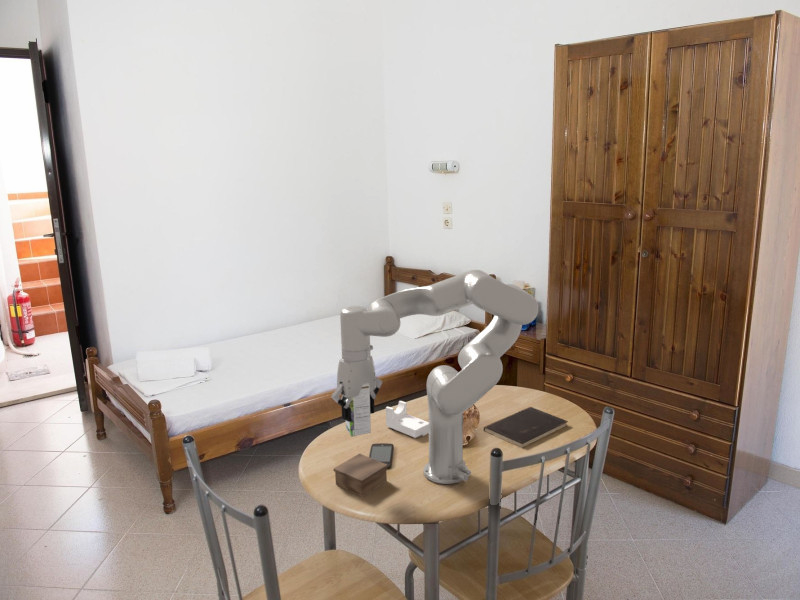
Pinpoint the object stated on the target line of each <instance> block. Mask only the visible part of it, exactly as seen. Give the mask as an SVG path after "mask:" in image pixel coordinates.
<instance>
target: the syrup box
mask: <svg viewBox="0 0 800 600" xmlns="http://www.w3.org/2000/svg"><path fill="white" fill-rule="evenodd" d="M346 399H347V398H346ZM345 402H346V400H345ZM349 407H350V408H351V421H350V422H348V421H346V420H345V429H346V431H347V432H348V434H349V436H351V437H357V436H362V435H363V436H364V435H366V434H371V433H372V428H371V427H372V425H371V421H372V420H371V413H370V388H369V383H367V384H363V386H362V388H361V391H360V393H359V395H358V396H356V397H353V398H351V402H350V405H349Z"/></svg>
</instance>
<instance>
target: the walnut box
mask: <svg viewBox="0 0 800 600" xmlns="http://www.w3.org/2000/svg"><path fill="white" fill-rule="evenodd" d="M388 468H389V465H388V464H387V463H384V462H382V461H379V460H378V459H375V458H371V457H369V456H367V455H364V454H362V453H358V454H356V455H355V456H352V457H351V458H349V459H348V460H346V461H344V462H342V463H341V464H339V465H338V466H335V467H334V468H333V470H332V471H333V472H334V473H335V474H334V475H335V477H334V478H335V485H336V486H338V487H341V488H343V489H345V490H347V491H349V492H352V493H354V494H356V495H358V496H360V497H365V495H368V494H369V493H370V492H372V491H374V490H375V489H376V488H379V486H382V484H384V483H385V482H387V480H388V479H387V469H388Z"/></svg>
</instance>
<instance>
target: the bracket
mask: <svg viewBox="0 0 800 600" xmlns="http://www.w3.org/2000/svg"><path fill="white" fill-rule="evenodd" d="M407 408H408V407H407V402H405V401H403V400H399V401H398V405H397V407H396V408H395V410H394V408H393V407H391V406H386V407H385V419H386V420H385V426H386V427H388V428H390V429H393V430H395V431H398V432H400V433H403V434H405V435H408V436H410V437H412V438H415V439H416V438H419V437H420V436H422V437H424V436H427V435H428V434H429V421H426V420H424V419H421V418H418V417H416V416H413V415H411V414H408V413H407V410H408V409H407ZM427 433H428V434H427Z"/></svg>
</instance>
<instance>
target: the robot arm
mask: <svg viewBox="0 0 800 600" xmlns="http://www.w3.org/2000/svg"><path fill="white" fill-rule="evenodd" d="M470 305H474V307H476V308H478V309H480V310H482V311H484V312H486V313H489V314H491V315H493V317H492V320H491V321H490V323H489V324H488V325H487V326H486V327H485V328H484V329H483V330H482V331H480V332H479V333H478V334H477V335H476V336H475V337H474V338H472V340H470V341H469V342H468V343H467V344H466V345H465V346H463V347H462V349H461V350H460V351H459V353H458V356H457V362H458V364H459V366H460V368H461V370H460V371H457V370H456V369H455V368H454V367H452V366H450V365H446V364H445V365H438V366H436V367H434V368H433V369H432V370H431V371H430V373H429V374H428V376H427V379H426V394H427V395H426V396H427V405H428V406H427V407H428V422H429V433H428V462H427V463H425V464H424V466H423V475H424V476H425V477H426V479H428V480H430V481H431V482H433V483H437V484H441V485H442V484H444V485H452V484H456V483H460V482H462V481H464V482H467V481H468V480H469V478H470V476H471V475H472V470H471V469H468V466H467V465H466V461H465V460H463V459H464V458H463V457H464V456H463V455H464V454H463V451H464V449H463V448H464V447H463V446H464V445H463V444H464V443H463V442H464V439H463V436H464V432H463V431H464V413H465V412H466V411H467V410H468V409H470V408H471V407H473V406H474V405H475V404H476V403H477V402H479V400H480V399H482V398H483V397H484V396H485V395H486V394H487V393H488V392H490V391H491V390H492V389H493V388H494V387H495V386H496V385H497V383H499V381H500V380H501V378H502V375H503V369H504V368H503V367H504V366H503V363H502V360H501V357H502V356H503V355H504V354H505V353H506V352H507V351H508V350H509V349H511V347H512V346H513V345H514V344H515V342H517V340H518V338H519V336H520V333H521V331H522V327H523V325H524V326H525V325H528V324H531V323H532V322H533V321H534V320H535V319H536V318H537V316H538V314H539V304H538V300H537V299H536V298H535V297H534V296H533V295H532V294H530V293H529V292H527V291H526V290H524V289H523V288H522V287H520V286H518V285H516V284H510V283H507V284H506V283H504V282H502V281H499V280H498V279H496V278H494V277H493V276H491V275H490V274H488V273H487V272H485V271H482V270H480V269H472V270H469V271H465V272H462V273H460V274H457V275H455V276H452V277H449V278H445V279H443V280H440V281H439V282H435V283H433V284H430V285H429V284H428V285H425V286H420V287H415V288H408V289H403V290H399V291H396V292H393V293H390V294H388V295H385V296H383V297H379V298H378V299H376V300H374V301H373V302H371V304H369V306H368V308H366V307H364V306H360V305H358V306H357V305H352V306H347V307H344V308H343V309H342V310H341V311H340V313H339V315H340V317H339V318H340V319H339V320H340V322H339V323H340V341H341V342H340V343H341V359H339V361H338V365H337V373H336V374H337V375H336V389H335V390H334V391H333V393H332V394H331V396H330V397H331V399H332V400H333V401H334V402H335V403H336V404H338V405H339V406H341V417H342V419H343V420H344V421H345V422H346V421H348V422H350V421H351V408H350V407H349V405H350V402H351V398H353V397H356V396H358V395H359V393H360V391H361V388H362V386H363V384H367V383H369V388H370V414H374V413H375V400H376V398H377V394H378V392H379V391H380V389H381V387H382V384H383V380H382V379H379V378H378V377H377V376H376V375H377V374H376V368H375V362H374V359H373V356H372V355H371V351H373V350H374V346H373V345H372V344H371V337H383V338H384V337H385V338H387V337H391V336H394V335H395V334H396V333H397V332H398V331H399V330H400V327H401V319H403V318H406V317H410V316H415V315H425V316H430V317H431V316H432V317H440V316H444V315H445V314H446V315H447V314H449V313H451V312H454V311H457V310H459V309H462V308H465V307H467V306H470ZM340 396H341V397H340ZM346 398H347V399H346ZM345 400H346V402H345Z"/></svg>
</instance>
